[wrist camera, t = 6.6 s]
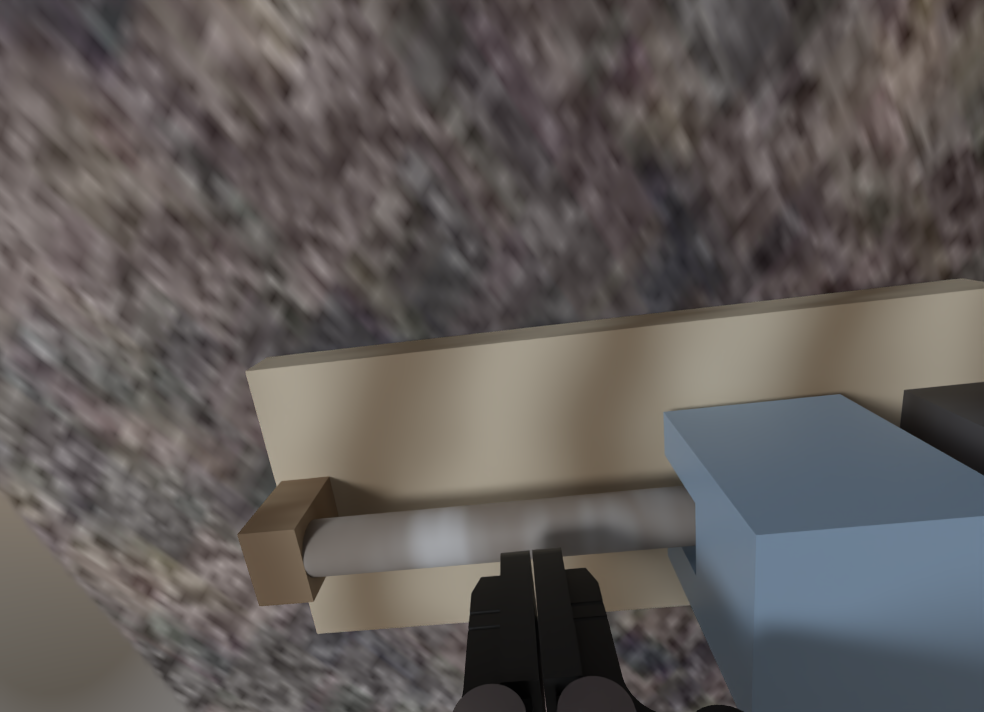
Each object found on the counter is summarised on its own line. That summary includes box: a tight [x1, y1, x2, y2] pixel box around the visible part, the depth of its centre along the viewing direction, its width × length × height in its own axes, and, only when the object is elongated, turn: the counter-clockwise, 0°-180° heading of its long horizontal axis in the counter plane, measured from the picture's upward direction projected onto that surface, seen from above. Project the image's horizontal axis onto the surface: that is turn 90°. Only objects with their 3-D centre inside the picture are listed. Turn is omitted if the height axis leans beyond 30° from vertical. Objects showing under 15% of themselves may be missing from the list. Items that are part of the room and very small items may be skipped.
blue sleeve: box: [663, 394, 984, 712], centre depth 13 cm, size 5×5×6 cm
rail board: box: [237, 278, 984, 634], centre depth 14 cm, size 22×10×7 cm, turn 97°
